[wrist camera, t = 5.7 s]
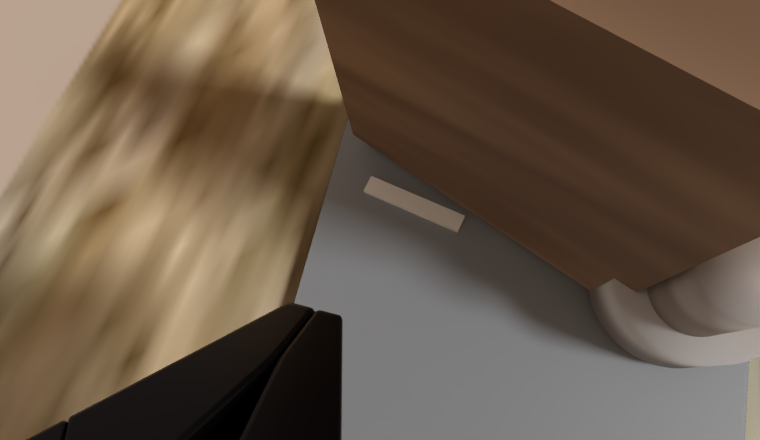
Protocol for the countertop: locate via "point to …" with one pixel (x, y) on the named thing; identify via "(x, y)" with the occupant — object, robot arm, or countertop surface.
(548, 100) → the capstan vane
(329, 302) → the slate base
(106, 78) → the countertop surface
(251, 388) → the robot arm
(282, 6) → the countertop surface
